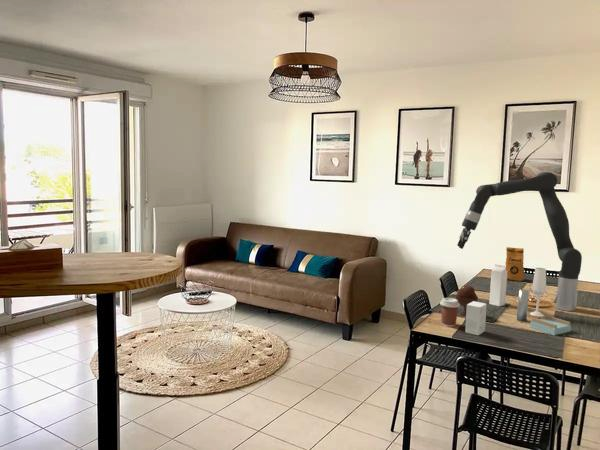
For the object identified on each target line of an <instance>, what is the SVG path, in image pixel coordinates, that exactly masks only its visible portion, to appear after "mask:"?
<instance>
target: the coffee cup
mask: <svg viewBox="0 0 600 450" xmlns="http://www.w3.org/2000/svg"><path fill="white" fill-rule="evenodd" d="M439 305H440V306H441V311H440V312H441V325H442V326H444V327H456V325H457V317H458V312H459V311H458V310H459V308H460V307H461V305H460V304H459V303H458V300H457V299H456V298H453V297H443V298H442V299H441V301H440V302H439Z"/></svg>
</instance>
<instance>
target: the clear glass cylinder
mask: <svg viewBox="0 0 600 450" xmlns="http://www.w3.org/2000/svg"><path fill="white" fill-rule="evenodd" d="M517 297H518V298H517V308H516V310H517V311H516V312H517V313H516V321H518V322H521V323H524V322H527V321H528V307H529V297H530V290H529V289H528V290H527V289H522V288H521V289H519V290H518V296H517Z"/></svg>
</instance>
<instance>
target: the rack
mask: <svg viewBox="0 0 600 450" xmlns="http://www.w3.org/2000/svg"><path fill="white" fill-rule="evenodd" d="M529 328H531V329H533V330H537V331H540V332H543V333H546V334H549V335H551V336H558V335H562V334H565V333H569V332H571V329H572V325H571V321H567V320H564V319H561V318H557V317H554V316H552V315H547V314H544V318H541V319H540V318H539V319H538V318H535V317H531V321H530V326H529Z"/></svg>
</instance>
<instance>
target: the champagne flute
mask: <svg viewBox="0 0 600 450" xmlns="http://www.w3.org/2000/svg"><path fill="white" fill-rule="evenodd" d="M546 269H547V268H544V267H535V269H534V272H533V273H534V274H533V280H532V285H531V291H532V292H533V294H534V295H535V296H536V307H535V310H534V311H531V312H530V313H529V315H531V316H533V317H545V314H543V313H542V312H540V311H539V309H540V297H541V296H543V295H544V294H546V292H547V271H546Z"/></svg>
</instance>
